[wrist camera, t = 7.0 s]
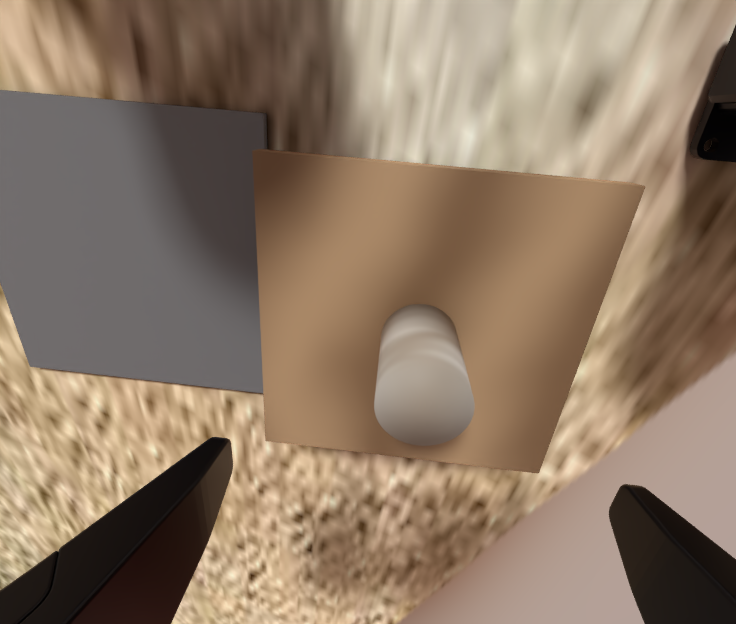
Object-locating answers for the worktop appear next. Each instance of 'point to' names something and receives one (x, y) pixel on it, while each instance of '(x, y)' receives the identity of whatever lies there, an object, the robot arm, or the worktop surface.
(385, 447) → the lid
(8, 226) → the mat
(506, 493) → the worktop surface
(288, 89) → the worktop surface
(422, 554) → the worktop surface
